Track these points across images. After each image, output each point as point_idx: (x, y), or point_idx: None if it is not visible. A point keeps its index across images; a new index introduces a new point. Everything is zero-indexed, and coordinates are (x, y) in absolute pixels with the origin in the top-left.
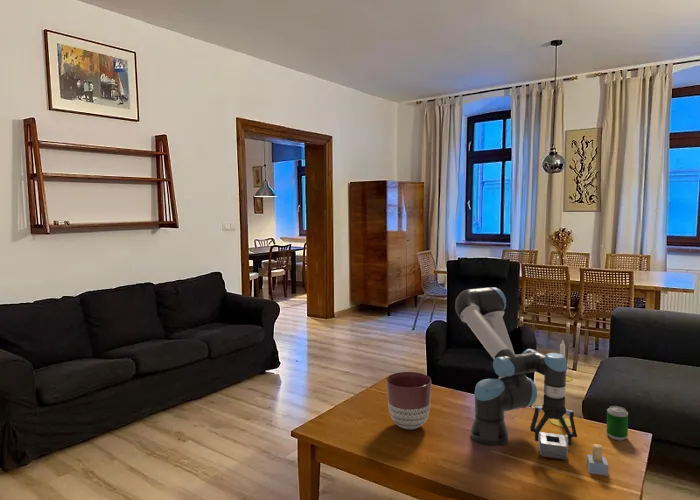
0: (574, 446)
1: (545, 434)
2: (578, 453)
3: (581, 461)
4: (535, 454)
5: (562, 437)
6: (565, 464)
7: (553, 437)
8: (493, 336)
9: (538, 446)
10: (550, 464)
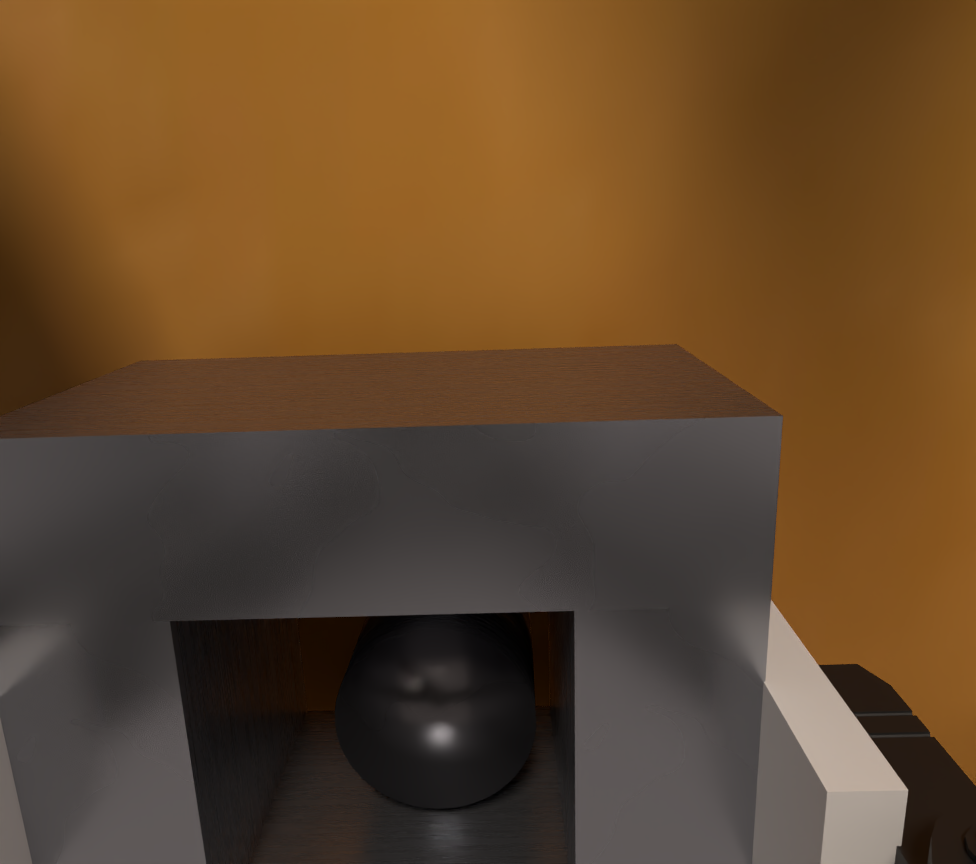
0: (929, 15)
1: (151, 566)
2: (941, 334)
3: (923, 628)
4: None
5: (694, 598)
6: None
7: (414, 600)
8: None
9: None
10: None
